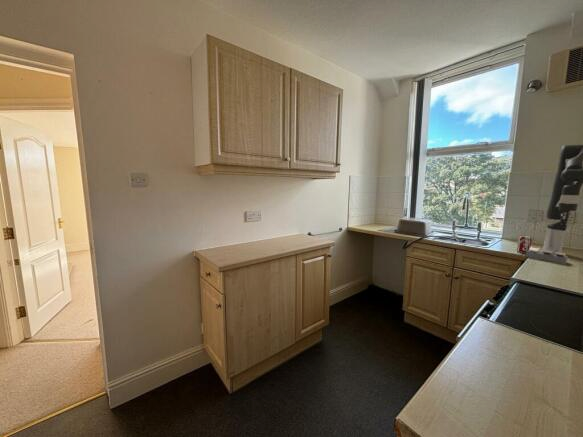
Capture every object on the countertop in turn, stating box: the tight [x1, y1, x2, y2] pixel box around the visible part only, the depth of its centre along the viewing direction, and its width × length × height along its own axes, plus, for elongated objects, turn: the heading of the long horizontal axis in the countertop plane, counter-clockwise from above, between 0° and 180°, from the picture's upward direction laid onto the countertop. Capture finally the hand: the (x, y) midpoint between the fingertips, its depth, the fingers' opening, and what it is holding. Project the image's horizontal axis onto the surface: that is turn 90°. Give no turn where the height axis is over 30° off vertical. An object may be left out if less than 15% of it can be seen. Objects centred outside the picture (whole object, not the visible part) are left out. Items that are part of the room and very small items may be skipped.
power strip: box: [525, 250, 569, 266], centre depth 158 cm, size 8×18×5 cm, turn 37°
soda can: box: [516, 235, 533, 254], centre depth 173 cm, size 7×7×12 cm
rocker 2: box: [555, 252, 567, 256], centre depth 153 cm, size 6×4×1 cm, turn 127°
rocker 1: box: [529, 245, 540, 252], centre depth 162 cm, size 6×4×1 cm, turn 126°
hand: (562, 230), depth 150 cm, fingers closed
